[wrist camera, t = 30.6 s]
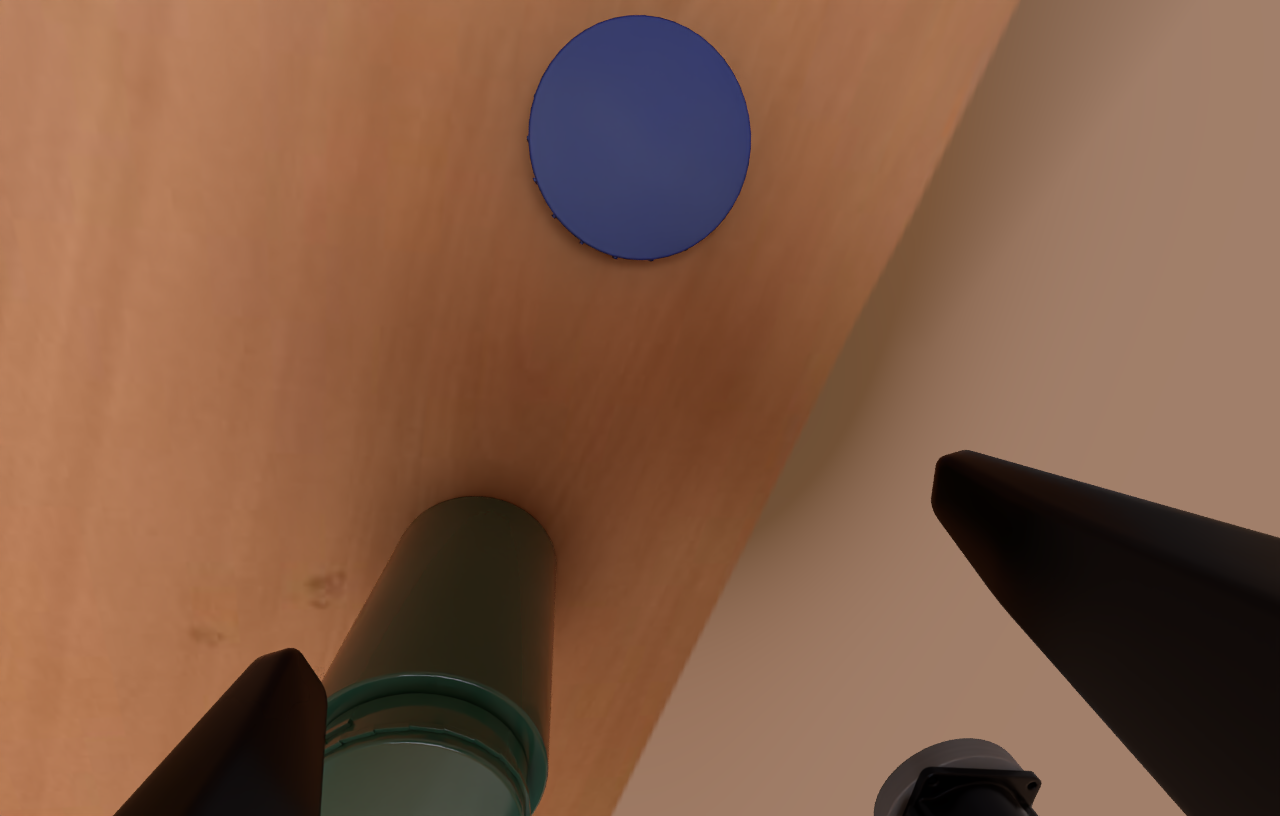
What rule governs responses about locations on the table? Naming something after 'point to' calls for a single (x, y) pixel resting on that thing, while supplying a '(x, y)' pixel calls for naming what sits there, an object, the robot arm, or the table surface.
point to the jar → (447, 672)
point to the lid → (639, 137)
